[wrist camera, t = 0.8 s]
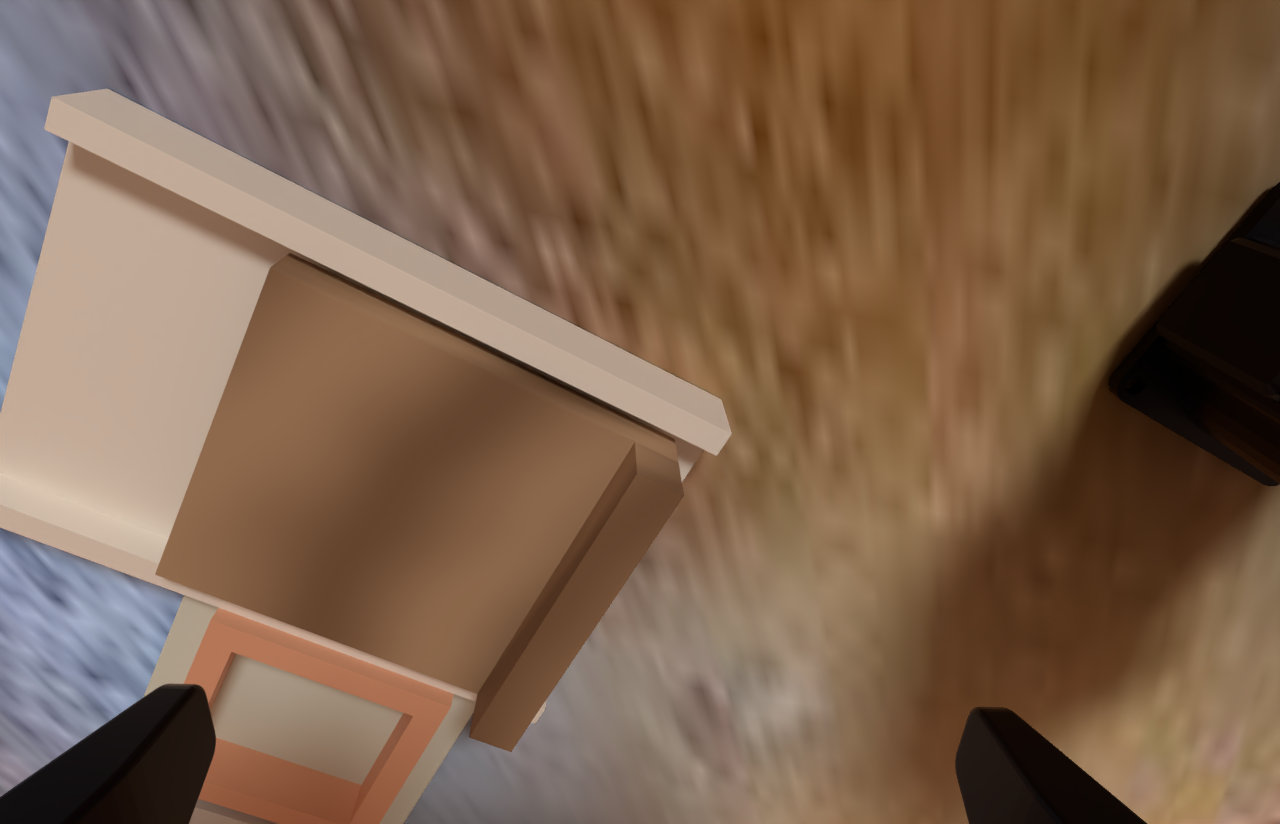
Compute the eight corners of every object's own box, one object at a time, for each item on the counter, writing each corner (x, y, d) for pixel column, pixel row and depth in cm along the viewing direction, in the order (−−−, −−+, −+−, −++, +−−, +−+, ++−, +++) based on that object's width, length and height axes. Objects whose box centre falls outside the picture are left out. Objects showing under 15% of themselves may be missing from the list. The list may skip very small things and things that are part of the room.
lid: (674, 439, 21) (683, 495, 18) (520, 677, 24) (511, 751, 21) (289, 252, 18) (241, 289, 16) (177, 546, 21) (122, 614, 19)
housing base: (721, 399, 22) (731, 433, 20) (539, 674, 26) (535, 723, 24) (107, 88, 18) (51, 96, 16) (6, 469, 22) (-47, 510, 20)
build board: (496, 657, 25) (486, 720, 23) (340, 910, 31) (318, 981, 28) (210, 547, 23) (168, 604, 21) (93, 839, 28) (48, 910, 26)
